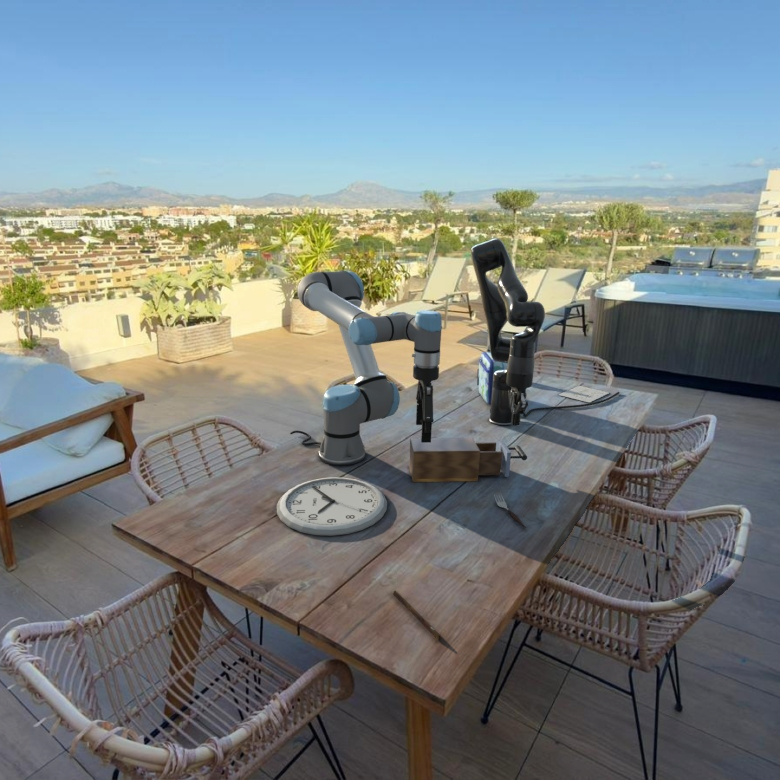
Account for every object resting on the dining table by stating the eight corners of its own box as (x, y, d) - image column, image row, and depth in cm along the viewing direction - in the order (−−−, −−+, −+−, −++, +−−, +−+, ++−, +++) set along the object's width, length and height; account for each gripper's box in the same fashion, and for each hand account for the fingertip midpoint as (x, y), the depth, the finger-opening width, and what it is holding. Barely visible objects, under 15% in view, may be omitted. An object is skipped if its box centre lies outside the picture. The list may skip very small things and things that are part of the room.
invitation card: (579, 385, 255) (609, 392, 245) (579, 386, 255) (609, 393, 245) (558, 394, 241) (589, 402, 231) (558, 395, 241) (589, 402, 231)
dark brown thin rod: (392, 594, 108) (393, 590, 108) (394, 593, 109) (394, 589, 108) (438, 640, 96) (438, 636, 96) (440, 639, 97) (440, 635, 96)
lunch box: (475, 390, 246) (478, 346, 240) (498, 390, 246) (501, 347, 240) (484, 408, 221) (487, 360, 215) (509, 409, 221) (513, 360, 215)
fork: (520, 530, 132) (521, 523, 132) (492, 499, 147) (492, 493, 146) (529, 529, 133) (530, 522, 132) (500, 498, 147) (501, 492, 147)
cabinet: (470, 466, 168) (472, 437, 165) (477, 481, 158) (480, 450, 155) (409, 466, 166) (410, 438, 164) (412, 481, 157) (413, 451, 154)
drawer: (517, 463, 168) (519, 440, 166) (526, 476, 159) (528, 452, 157) (443, 464, 166) (444, 441, 164) (448, 477, 158) (449, 453, 155)
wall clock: (392, 527, 129) (268, 531, 127) (391, 533, 130) (269, 537, 127) (383, 473, 158) (282, 475, 155) (383, 478, 158) (282, 480, 156)
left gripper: (409, 354, 163) (406, 418, 170) (418, 377, 139) (415, 450, 146) (433, 354, 164) (429, 418, 170) (446, 377, 140) (441, 450, 146)
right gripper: (501, 364, 160) (497, 417, 165) (514, 376, 147) (509, 433, 152) (525, 364, 160) (520, 417, 166) (540, 376, 148) (534, 432, 153)
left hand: (423, 433), depth 158 cm, fingers open, 13 cm apart
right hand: (515, 424), depth 159 cm, fingers closed
